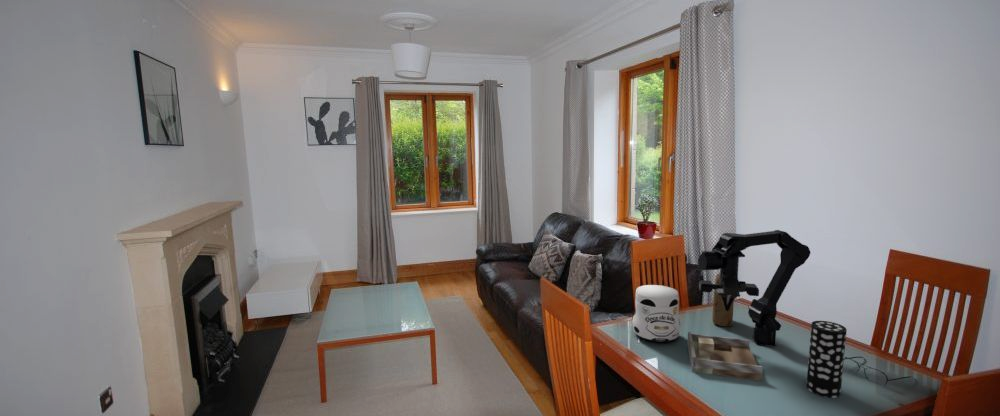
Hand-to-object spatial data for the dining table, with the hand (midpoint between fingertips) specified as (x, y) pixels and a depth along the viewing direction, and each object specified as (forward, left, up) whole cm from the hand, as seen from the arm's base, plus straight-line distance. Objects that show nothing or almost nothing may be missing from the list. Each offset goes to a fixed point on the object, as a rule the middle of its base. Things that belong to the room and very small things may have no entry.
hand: (726, 310), depth 164 cm
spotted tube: (-23, +25, -13) cm, 37 cm away
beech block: (+8, +13, -11) cm, 19 cm away
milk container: (+24, -1, -13) cm, 27 cm away
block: (-2, -22, -13) cm, 26 cm away
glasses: (-42, +9, -14) cm, 45 cm away
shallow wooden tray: (+3, +14, -13) cm, 19 cm away
